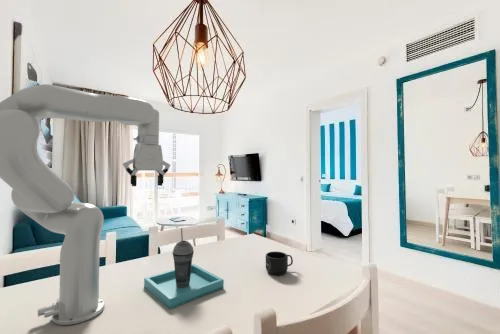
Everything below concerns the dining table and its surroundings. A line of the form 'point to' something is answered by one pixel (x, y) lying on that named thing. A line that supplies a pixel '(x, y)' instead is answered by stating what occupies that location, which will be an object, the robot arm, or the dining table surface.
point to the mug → (277, 262)
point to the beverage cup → (182, 262)
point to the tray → (173, 296)
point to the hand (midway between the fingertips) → (147, 185)
